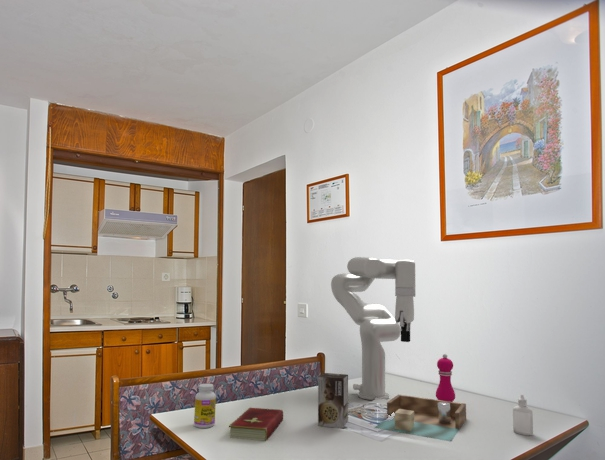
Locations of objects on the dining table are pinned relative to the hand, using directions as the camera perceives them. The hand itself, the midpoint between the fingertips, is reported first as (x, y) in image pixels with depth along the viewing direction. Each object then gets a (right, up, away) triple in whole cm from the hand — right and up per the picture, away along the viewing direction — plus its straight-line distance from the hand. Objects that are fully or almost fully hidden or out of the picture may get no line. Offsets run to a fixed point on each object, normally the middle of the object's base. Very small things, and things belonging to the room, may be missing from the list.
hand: (405, 341), depth 178 cm
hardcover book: (-53, -22, -26) cm, 64 cm away
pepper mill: (+16, -26, +2) cm, 30 cm away
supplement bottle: (-71, -22, -24) cm, 78 cm away
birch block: (-6, -22, -26) cm, 35 cm away
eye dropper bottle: (+32, -23, -27) cm, 48 cm away
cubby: (+1, -23, -21) cm, 31 cm away
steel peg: (+9, -22, -20) cm, 31 cm away
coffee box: (-29, -23, -21) cm, 42 cm away
